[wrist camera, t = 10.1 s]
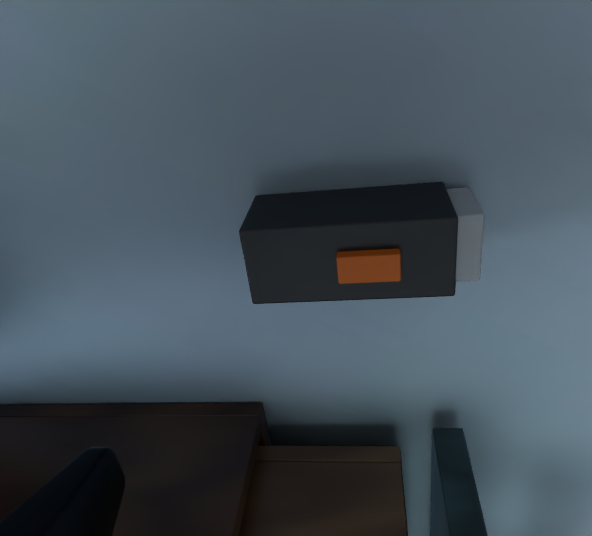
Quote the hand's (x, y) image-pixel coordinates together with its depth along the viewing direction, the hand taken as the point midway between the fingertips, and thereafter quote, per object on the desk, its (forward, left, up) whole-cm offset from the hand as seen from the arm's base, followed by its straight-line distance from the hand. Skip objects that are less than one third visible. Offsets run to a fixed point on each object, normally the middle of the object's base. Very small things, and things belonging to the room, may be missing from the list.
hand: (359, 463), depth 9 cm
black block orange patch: (0, 0, -10) cm, 10 cm away
